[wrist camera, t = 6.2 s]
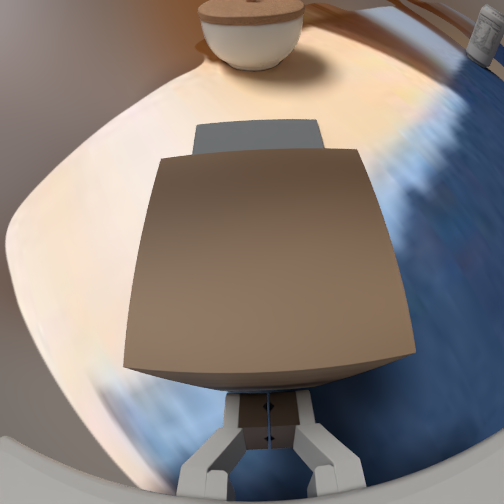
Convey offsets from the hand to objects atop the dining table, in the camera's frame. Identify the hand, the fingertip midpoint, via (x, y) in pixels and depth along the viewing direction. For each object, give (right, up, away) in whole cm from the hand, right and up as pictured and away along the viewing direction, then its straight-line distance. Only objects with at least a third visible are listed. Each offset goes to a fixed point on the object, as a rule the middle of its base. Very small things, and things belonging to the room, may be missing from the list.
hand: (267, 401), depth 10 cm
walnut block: (0, +1, +5) cm, 5 cm away
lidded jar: (0, +28, +17) cm, 32 cm away
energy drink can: (+46, +45, +22) cm, 68 cm away
